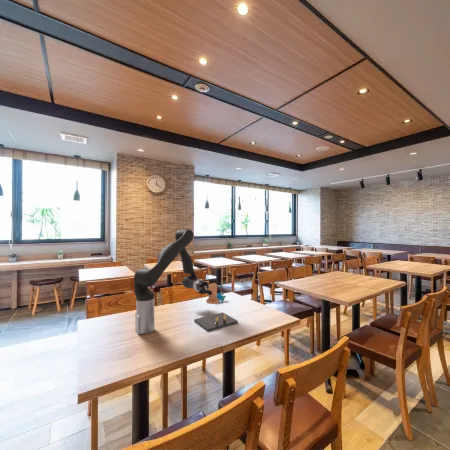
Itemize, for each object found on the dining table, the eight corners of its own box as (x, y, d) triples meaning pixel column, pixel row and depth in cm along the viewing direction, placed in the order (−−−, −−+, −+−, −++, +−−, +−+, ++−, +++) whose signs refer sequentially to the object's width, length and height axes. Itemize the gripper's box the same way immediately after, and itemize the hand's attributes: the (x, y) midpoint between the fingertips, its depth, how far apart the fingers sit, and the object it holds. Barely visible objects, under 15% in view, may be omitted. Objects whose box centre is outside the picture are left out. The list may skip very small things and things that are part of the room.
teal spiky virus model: (213, 302, 172) (211, 289, 179) (210, 306, 176) (209, 294, 183) (227, 302, 176) (225, 290, 183) (224, 306, 180) (222, 294, 186)
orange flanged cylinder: (210, 304, 136) (210, 287, 136) (203, 301, 143) (203, 284, 142) (221, 302, 140) (221, 285, 140) (214, 298, 147) (214, 282, 147)
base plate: (207, 331, 128) (207, 321, 128) (194, 321, 142) (194, 312, 142) (237, 323, 139) (237, 313, 139) (222, 314, 153) (222, 306, 153)
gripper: (190, 281, 149) (204, 287, 135) (210, 278, 157) (225, 284, 143) (191, 294, 149) (204, 301, 135) (211, 290, 157) (225, 296, 143)
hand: (215, 292), depth 139 cm, fingers closed on orange flanged cylinder, 5 cm apart
